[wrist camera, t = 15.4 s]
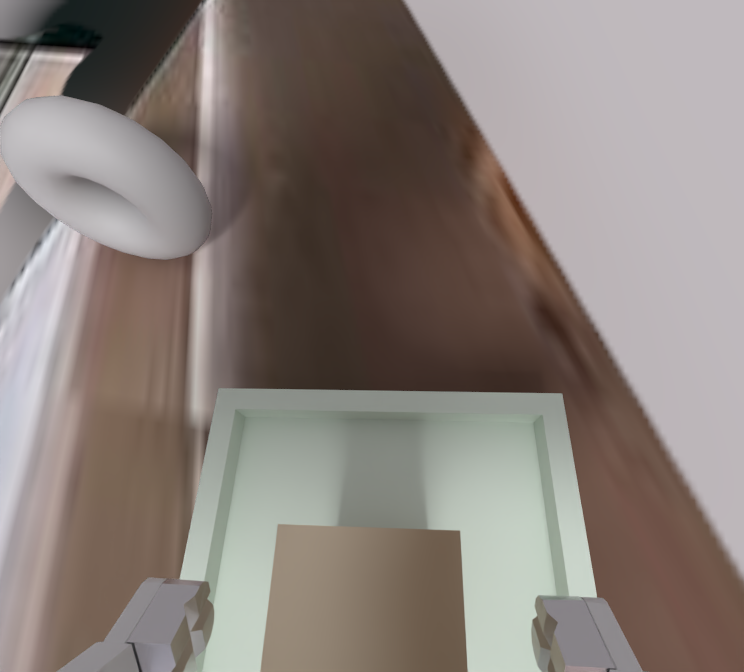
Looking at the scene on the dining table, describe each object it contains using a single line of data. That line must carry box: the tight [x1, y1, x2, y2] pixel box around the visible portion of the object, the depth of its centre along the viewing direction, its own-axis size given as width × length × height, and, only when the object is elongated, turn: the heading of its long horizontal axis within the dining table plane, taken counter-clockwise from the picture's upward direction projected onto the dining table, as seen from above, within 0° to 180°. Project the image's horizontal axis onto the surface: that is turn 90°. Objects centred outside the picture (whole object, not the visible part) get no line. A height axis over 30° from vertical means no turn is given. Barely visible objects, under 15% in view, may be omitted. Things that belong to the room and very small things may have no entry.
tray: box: [180, 388, 597, 672], centre depth 17 cm, size 16×16×2 cm
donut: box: [0, 96, 212, 260], centre depth 22 cm, size 10×4×10 cm, turn 77°
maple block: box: [260, 524, 468, 672], centre depth 13 cm, size 4×4×10 cm
